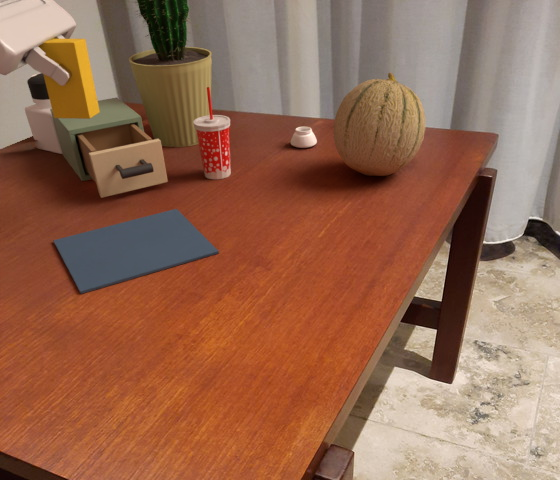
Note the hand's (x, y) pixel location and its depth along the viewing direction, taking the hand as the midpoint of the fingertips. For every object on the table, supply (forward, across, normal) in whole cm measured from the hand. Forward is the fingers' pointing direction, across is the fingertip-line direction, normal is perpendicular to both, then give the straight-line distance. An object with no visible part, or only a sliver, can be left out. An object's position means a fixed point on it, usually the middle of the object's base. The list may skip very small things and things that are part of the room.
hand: (75, 75), depth 74 cm
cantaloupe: (+43, -17, +15) cm, 49 cm away
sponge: (+3, 0, -4) cm, 5 cm away
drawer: (+13, -11, -14) cm, 22 cm away
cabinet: (+8, -22, -20) cm, 31 cm away
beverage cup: (+24, -16, -4) cm, 29 cm away
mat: (+19, +11, -9) cm, 23 cm away
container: (0, -30, -28) cm, 41 cm away
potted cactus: (+16, -35, -12) cm, 40 cm away
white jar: (+34, -31, +6) cm, 46 cm away
